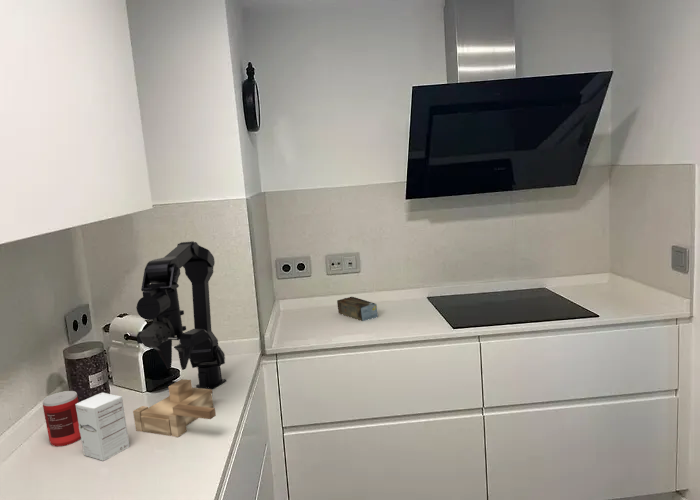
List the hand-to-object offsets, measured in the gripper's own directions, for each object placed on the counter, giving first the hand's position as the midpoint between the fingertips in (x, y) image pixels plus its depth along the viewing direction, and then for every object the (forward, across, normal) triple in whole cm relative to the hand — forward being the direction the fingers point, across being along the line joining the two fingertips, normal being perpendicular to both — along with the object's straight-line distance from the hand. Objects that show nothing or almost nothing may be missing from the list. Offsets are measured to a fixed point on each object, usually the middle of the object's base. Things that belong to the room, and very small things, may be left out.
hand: (176, 368), depth 141 cm
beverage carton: (+14, +6, +98) cm, 99 cm away
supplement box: (+13, -6, -20) cm, 24 cm away
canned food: (+13, -22, -18) cm, 31 cm away
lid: (+9, 0, -1) cm, 9 cm away
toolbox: (+13, 0, -2) cm, 13 cm away
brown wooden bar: (+8, +11, -8) cm, 16 cm away
